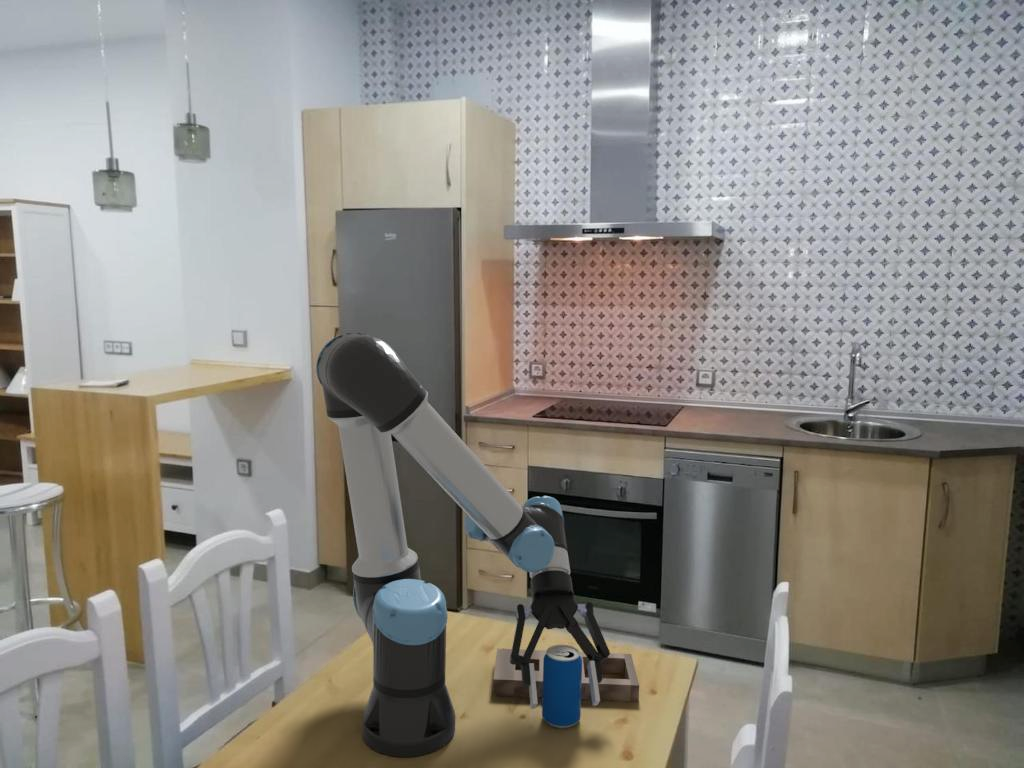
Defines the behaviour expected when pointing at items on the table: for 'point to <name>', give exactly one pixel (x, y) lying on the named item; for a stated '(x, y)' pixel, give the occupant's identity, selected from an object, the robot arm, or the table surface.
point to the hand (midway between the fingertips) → (565, 704)
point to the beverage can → (562, 686)
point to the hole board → (609, 689)
